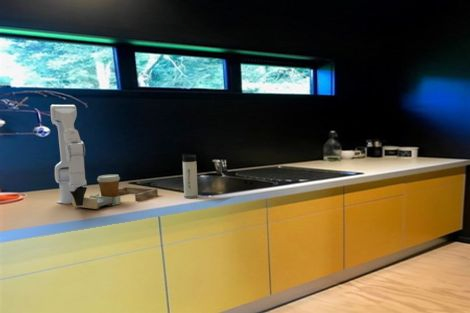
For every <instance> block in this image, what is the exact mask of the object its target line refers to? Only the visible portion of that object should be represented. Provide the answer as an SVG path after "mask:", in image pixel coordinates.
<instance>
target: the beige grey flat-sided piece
mask: <svg viewBox="0 0 470 313" xmlns="http://www.w3.org/2000/svg"><path fill="white" fill-rule="evenodd" d="M72 202H73V203H72V206H73V207H77V208H87V209H93V210H100V209H101V207H103V206H107V207H111V206H115V205H118V204H121V203H122V200H121V195H118V196H117V197H105V196H101V195H100V193H97V194H96V193H95V194H91V195H89V197H87V196H84V200H83V205H82V206H76V203H75V200H74V198H73V197H72Z"/></svg>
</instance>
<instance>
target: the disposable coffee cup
mask: <svg viewBox="0 0 470 313" xmlns="http://www.w3.org/2000/svg"><path fill="white" fill-rule="evenodd" d="M120 179H121V177H120V175H119V174H103V175H102V174H101V175H99V176H98V177H97V179H96V180H97V182H98V186H99V191H100V196H105V197H117V196H119V195H118V189H119V188H120V187H119V185H120Z"/></svg>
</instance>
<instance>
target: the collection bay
mask: <svg viewBox="0 0 470 313" xmlns="http://www.w3.org/2000/svg"><path fill="white" fill-rule="evenodd" d="M124 194H134V196H135V200H134V201H135V202H140V201H143V200H147V199H150V198H153V197H157V196H159V193H158V189H157V188H148V187H147V188H146V187H137V186H136V187H133V186H124V187H119V188H118V196H122V195H124Z"/></svg>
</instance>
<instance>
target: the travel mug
mask: <svg viewBox="0 0 470 313" xmlns="http://www.w3.org/2000/svg"><path fill="white" fill-rule="evenodd" d="M197 168H198V167H197V155H196V154H189V153H188V154H187V153H182V175H183V176H182V177H183V197H184V199H195V197H196V198H198V197H197V196H199V194H198V193H199V192H198V170H197Z"/></svg>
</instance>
